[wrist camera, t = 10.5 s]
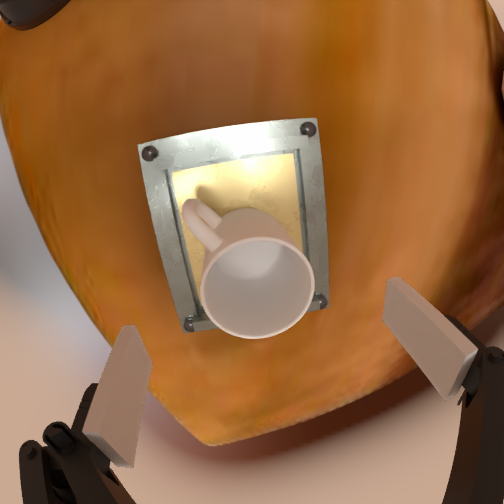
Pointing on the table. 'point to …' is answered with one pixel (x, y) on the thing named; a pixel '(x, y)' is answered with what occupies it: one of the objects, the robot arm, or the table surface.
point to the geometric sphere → (503, 86)
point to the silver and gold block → (236, 197)
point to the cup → (249, 271)
